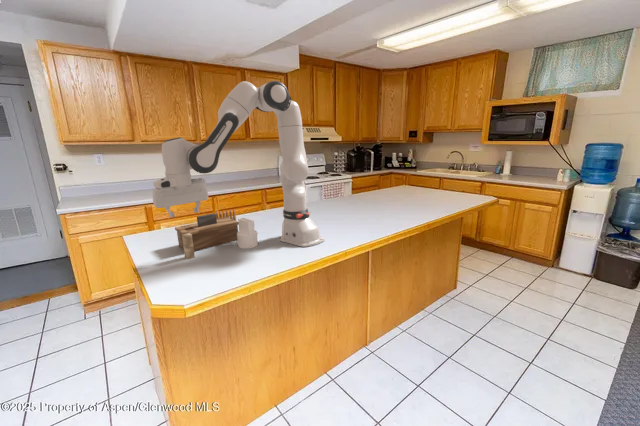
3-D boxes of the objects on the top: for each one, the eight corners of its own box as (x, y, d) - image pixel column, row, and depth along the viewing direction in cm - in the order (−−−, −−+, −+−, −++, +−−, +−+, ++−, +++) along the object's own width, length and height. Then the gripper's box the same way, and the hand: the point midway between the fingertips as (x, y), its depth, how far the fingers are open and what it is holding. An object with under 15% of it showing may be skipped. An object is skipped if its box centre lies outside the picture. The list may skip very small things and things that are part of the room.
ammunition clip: (217, 233, 153) (214, 211, 150) (216, 232, 155) (214, 210, 152) (237, 230, 158) (235, 209, 155) (237, 229, 160) (235, 208, 157)
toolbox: (238, 240, 143) (237, 224, 141) (187, 253, 127) (185, 235, 125) (227, 234, 152) (226, 219, 150) (179, 246, 136) (176, 229, 134)
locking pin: (192, 255, 125) (189, 233, 123) (194, 257, 123) (191, 234, 121) (184, 257, 123) (181, 234, 121) (187, 259, 121) (184, 236, 119)
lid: (238, 224, 141) (237, 212, 140) (184, 236, 125) (183, 223, 123) (226, 219, 150) (225, 208, 149) (175, 229, 134) (173, 217, 133)
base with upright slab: (261, 244, 136) (259, 219, 133) (244, 250, 130) (242, 224, 127) (251, 240, 143) (249, 216, 140) (234, 245, 136) (231, 220, 133)
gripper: (202, 176, 124) (206, 208, 128) (148, 183, 111) (155, 218, 114) (208, 177, 120) (212, 210, 123) (152, 184, 106) (159, 221, 110)
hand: (184, 214), depth 119 cm, fingers open, 8 cm apart
